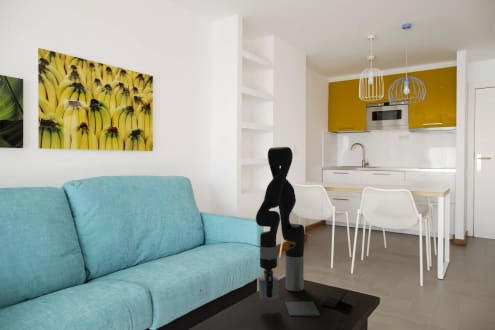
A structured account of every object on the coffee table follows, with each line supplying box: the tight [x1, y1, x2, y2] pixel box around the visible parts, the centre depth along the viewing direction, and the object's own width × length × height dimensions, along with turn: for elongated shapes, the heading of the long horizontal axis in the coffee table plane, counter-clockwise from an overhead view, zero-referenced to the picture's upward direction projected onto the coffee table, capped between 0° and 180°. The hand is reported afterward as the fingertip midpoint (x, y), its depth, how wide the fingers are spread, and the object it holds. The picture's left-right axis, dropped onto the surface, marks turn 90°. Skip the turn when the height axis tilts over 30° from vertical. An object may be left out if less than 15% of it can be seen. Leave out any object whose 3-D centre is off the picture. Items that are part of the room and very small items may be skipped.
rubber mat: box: [284, 301, 321, 317], centre depth 160 cm, size 14×13×1 cm
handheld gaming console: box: [321, 290, 348, 310], centre depth 165 cm, size 12×7×10 cm
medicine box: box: [258, 276, 280, 301], centre depth 158 cm, size 8×4×9 cm, turn 100°
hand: (268, 294), depth 158 cm, fingers closed on medicine box, 4 cm apart
